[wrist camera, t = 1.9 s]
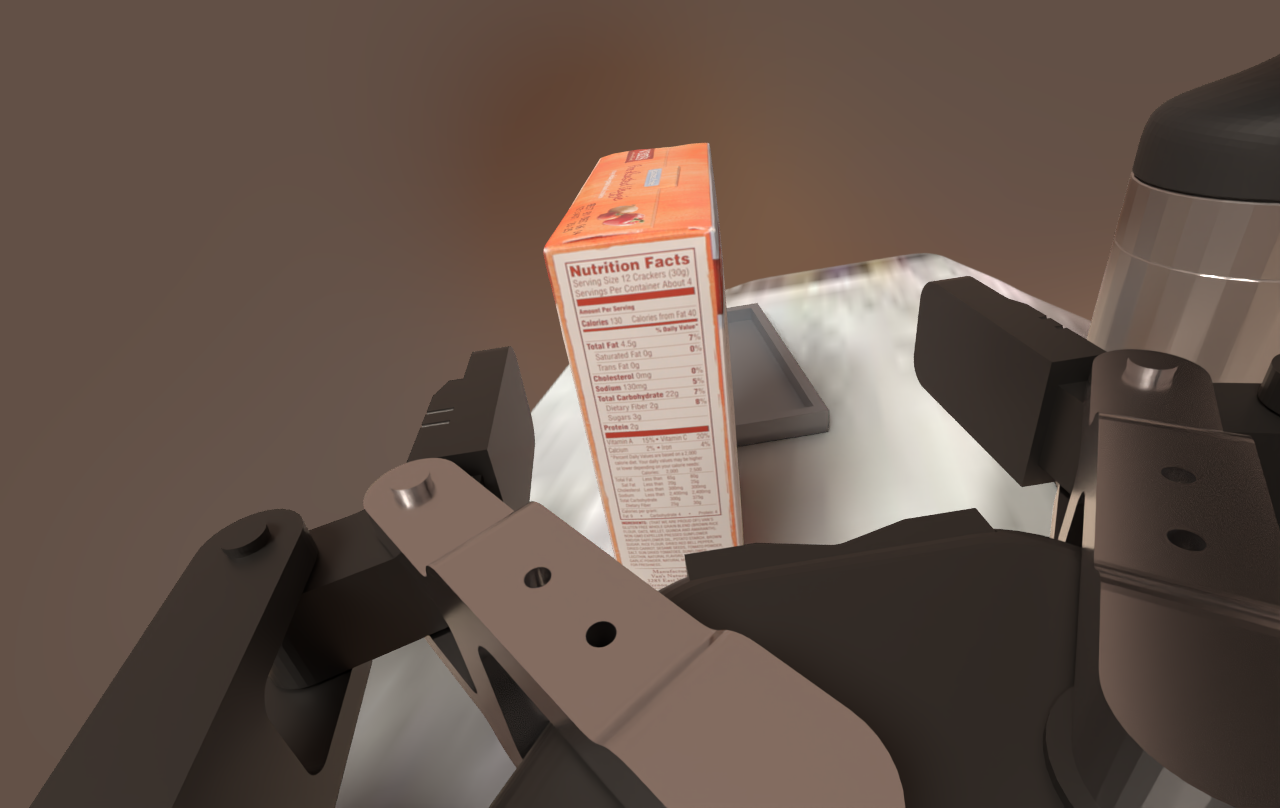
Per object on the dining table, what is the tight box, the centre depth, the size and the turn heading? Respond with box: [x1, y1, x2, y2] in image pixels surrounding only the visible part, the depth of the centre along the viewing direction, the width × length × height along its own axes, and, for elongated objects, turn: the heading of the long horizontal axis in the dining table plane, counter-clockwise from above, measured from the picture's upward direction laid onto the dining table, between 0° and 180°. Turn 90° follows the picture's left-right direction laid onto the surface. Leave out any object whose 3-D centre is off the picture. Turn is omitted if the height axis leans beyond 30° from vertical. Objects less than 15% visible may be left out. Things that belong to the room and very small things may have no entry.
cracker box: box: [544, 143, 744, 591], centre depth 30 cm, size 14×6×21 cm, turn 175°
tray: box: [726, 303, 829, 446], centre depth 52 cm, size 13×20×2 cm, turn 5°
